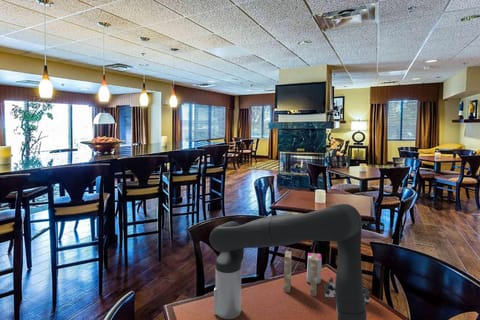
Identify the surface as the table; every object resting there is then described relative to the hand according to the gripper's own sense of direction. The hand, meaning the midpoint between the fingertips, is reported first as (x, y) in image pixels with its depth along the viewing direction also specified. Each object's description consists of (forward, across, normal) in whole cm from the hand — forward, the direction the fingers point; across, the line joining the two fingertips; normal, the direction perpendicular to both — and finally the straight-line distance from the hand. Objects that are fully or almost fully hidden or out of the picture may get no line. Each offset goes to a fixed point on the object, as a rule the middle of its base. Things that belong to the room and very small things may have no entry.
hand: (344, 281), depth 109 cm
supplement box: (+21, +10, +12) cm, 26 cm away
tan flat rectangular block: (+12, +21, +12) cm, 27 cm away
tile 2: (+12, +10, +12) cm, 20 cm away
